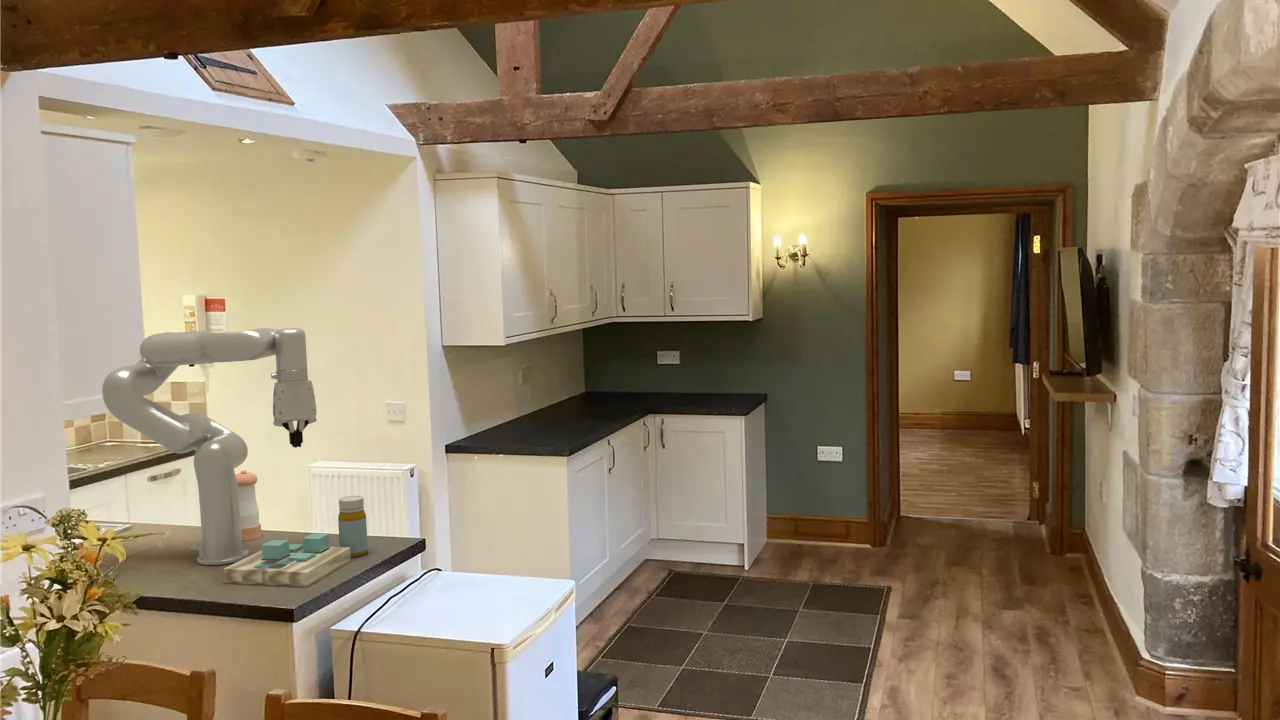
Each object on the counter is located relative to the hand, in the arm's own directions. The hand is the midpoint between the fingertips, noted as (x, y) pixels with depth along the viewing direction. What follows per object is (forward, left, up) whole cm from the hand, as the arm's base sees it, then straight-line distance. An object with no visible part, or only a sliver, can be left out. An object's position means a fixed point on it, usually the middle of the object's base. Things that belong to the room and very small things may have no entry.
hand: (296, 446), depth 259 cm
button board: (+4, -13, -29) cm, 32 cm away
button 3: (+8, -13, -28) cm, 32 cm away
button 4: (+7, -6, -25) cm, 27 cm away
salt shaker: (-26, +15, -29) cm, 42 cm away
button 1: (+1, -13, -25) cm, 29 cm away
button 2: (+1, -6, -28) cm, 29 cm away
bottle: (+13, +3, -29) cm, 32 cm away
